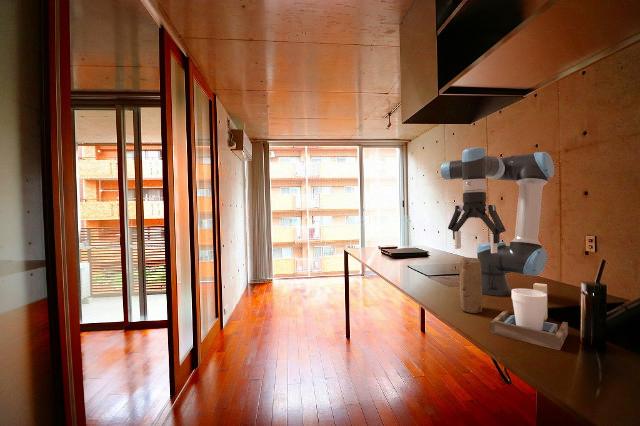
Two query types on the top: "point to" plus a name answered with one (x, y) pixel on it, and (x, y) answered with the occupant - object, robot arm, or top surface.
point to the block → (470, 285)
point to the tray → (546, 325)
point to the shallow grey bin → (528, 332)
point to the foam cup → (529, 307)
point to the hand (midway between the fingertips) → (475, 250)
